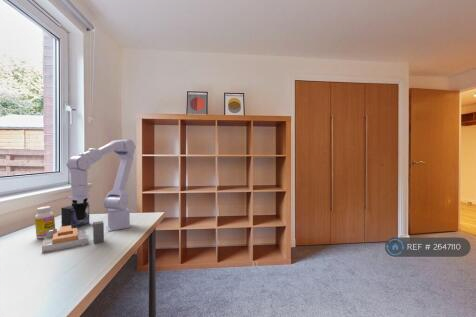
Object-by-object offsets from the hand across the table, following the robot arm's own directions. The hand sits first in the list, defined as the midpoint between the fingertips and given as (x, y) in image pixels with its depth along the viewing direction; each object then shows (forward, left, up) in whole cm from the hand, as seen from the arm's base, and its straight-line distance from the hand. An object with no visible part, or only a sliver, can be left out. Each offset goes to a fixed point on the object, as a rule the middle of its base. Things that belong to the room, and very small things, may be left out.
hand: (80, 217), depth 97 cm
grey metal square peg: (-6, +5, -10) cm, 13 cm away
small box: (+1, -27, -10) cm, 29 cm away
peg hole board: (+5, -2, -10) cm, 11 cm away
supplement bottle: (+12, -17, -10) cm, 23 cm away
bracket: (+5, -5, -7) cm, 10 cm away
